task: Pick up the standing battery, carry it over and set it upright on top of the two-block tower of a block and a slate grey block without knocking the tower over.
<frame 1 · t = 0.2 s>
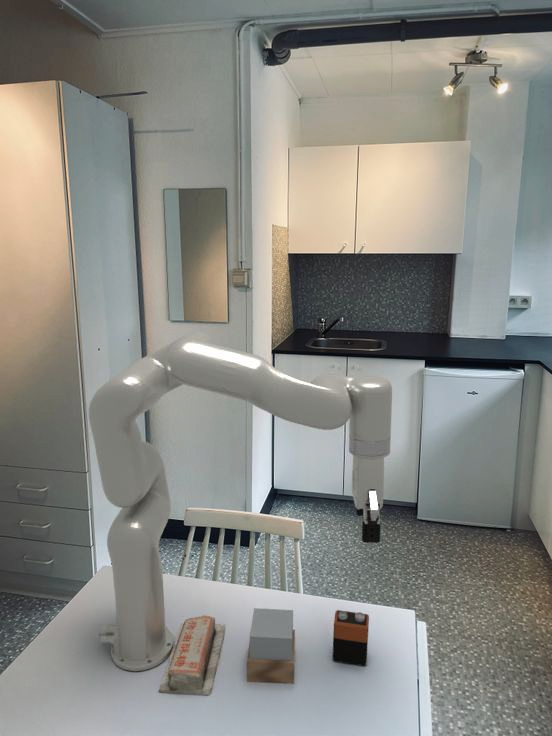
hand: (367, 527, 102), 29 cm above the table, tool pointing down, fingers open, 9 cm apart
bottom block: (271, 666, 107), on the table, touching top block
packaged product: (195, 661, 109), on the table
top block: (272, 644, 106), point 5 cm above the table, touching bottom block
battery: (349, 657, 109), on the table
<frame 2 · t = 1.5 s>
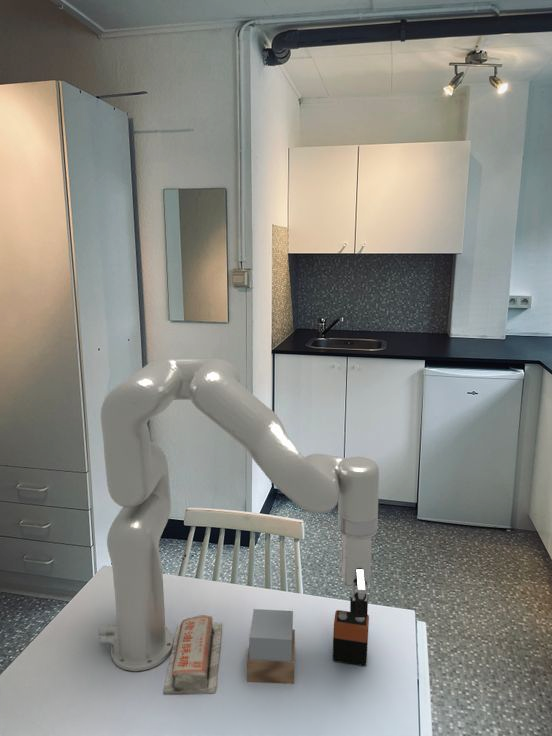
hand: (356, 599, 106), 13 cm above the table, tool pointing down, fingers open, 9 cm apart
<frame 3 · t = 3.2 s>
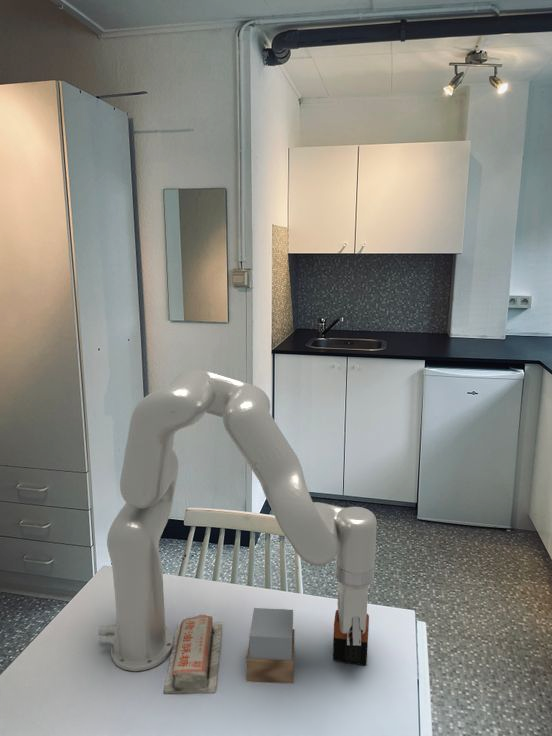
hand: (351, 648, 109), 2 cm above the table, tool pointing down, fingers closed on battery, 4 cm apart
battery: (350, 657, 109), on the table, touching gripper
everything else where it was.
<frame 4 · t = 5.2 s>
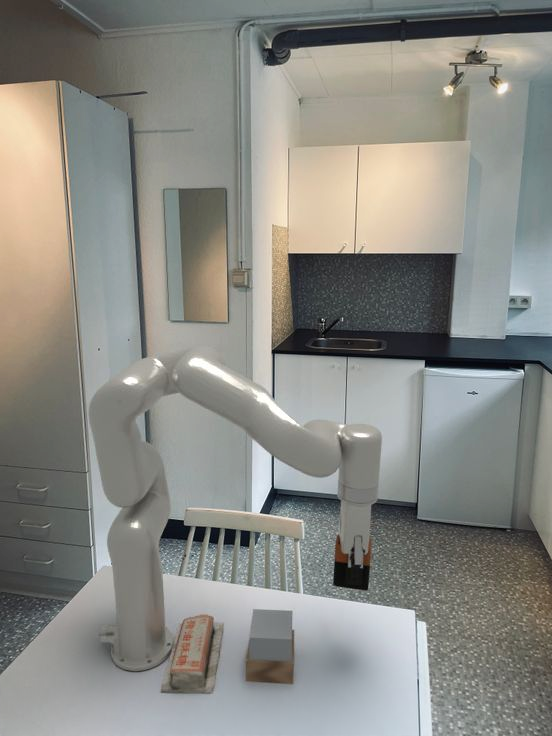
hand: (352, 574, 105), 19 cm above the table, tool pointing down, fingers closed on battery, 4 cm apart
battery: (350, 583, 105), point 17 cm above the table, touching gripper
everything else where it was.
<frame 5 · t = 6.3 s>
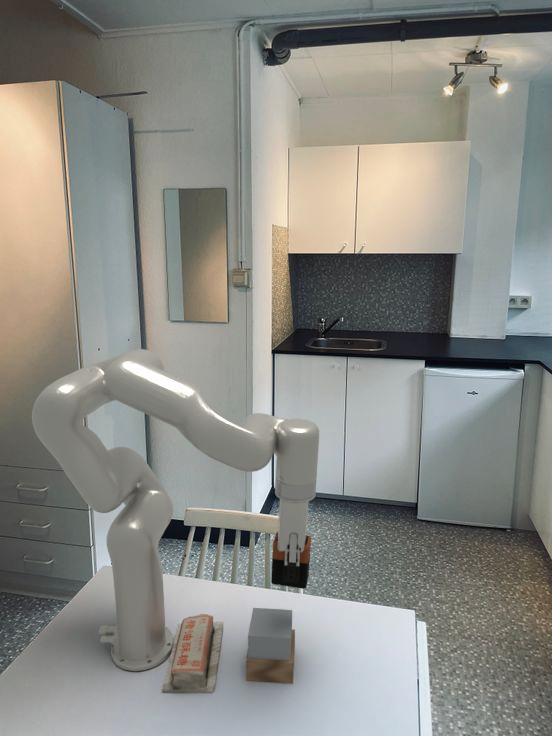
hand: (290, 572, 103), 21 cm above the table, tool pointing down, fingers closed on battery, 4 cm apart
bottom block: (271, 665, 107), on the table
top block: (270, 644, 106), point 5 cm above the table
battery: (290, 581, 104), point 18 cm above the table, touching gripper
everything else where it was.
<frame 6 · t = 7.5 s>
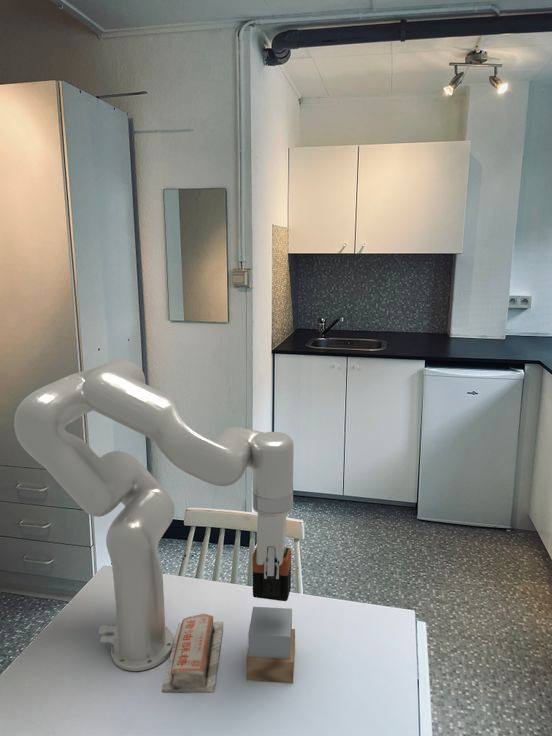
hand: (272, 584, 103), 18 cm above the table, tool pointing down, fingers closed on battery, 4 cm apart
bottom block: (271, 664, 107), on the table, touching top block
top block: (270, 642, 106), point 5 cm above the table, touching bottom block
battery: (271, 594, 103), point 16 cm above the table, touching gripper
everything else where it was.
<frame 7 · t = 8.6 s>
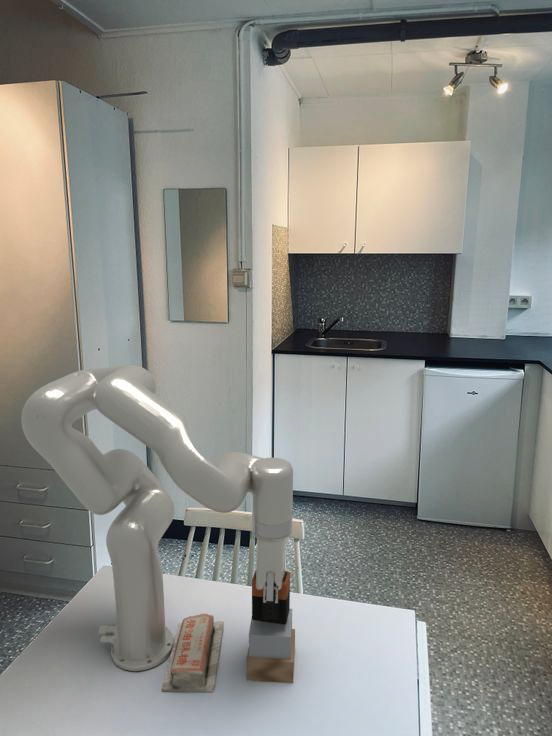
hand: (271, 607, 104), 13 cm above the table, tool pointing down, fingers closed on battery, 4 cm apart
battery: (270, 617, 105), point 11 cm above the table, touching gripper
everything else where it was.
when the fingers open (13 cm above the table, at t = 8.9 s): battery drops 1 cm, resting on top block.
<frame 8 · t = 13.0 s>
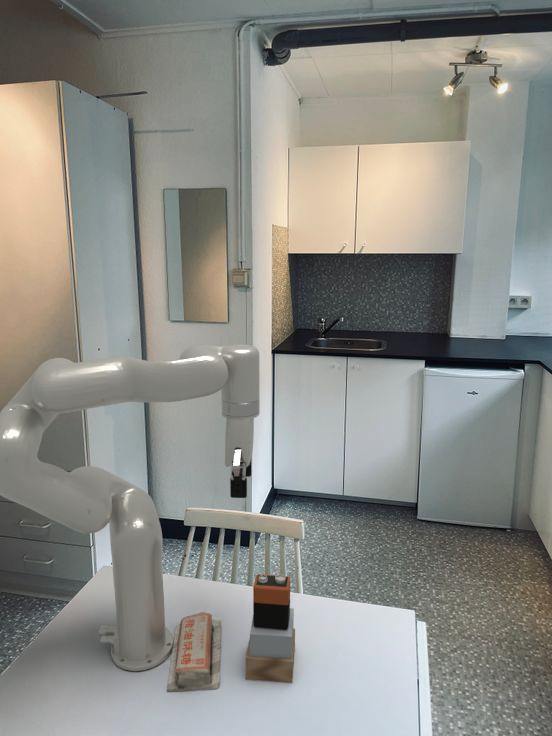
hand: (241, 486, 110), 33 cm above the table, tool pointing down, fingers open, 9 cm apart
top block: (272, 642, 106), point 5 cm above the table, touching battery, bottom block
battery: (271, 622, 105), point 10 cm above the table, touching top block
at the end: battery 0.3 cm off-centre on the top block, point 4.8 cm above the top block's base; battery tilted 1°; top block 0.2 cm off-centre on the bottom block, point 5.0 cm above the bottom block's base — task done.
